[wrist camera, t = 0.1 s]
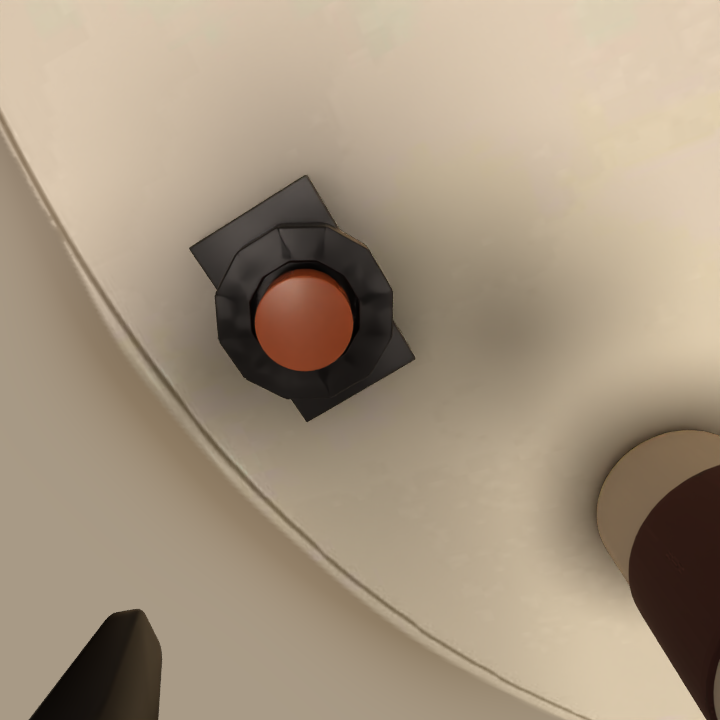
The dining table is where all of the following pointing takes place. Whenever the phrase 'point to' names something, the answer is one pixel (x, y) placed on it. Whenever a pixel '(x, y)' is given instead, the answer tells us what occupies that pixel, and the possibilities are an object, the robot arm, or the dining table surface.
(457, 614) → the dining table surface
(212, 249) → the button base
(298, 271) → the button
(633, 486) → the coffee cup
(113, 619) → the robot arm
